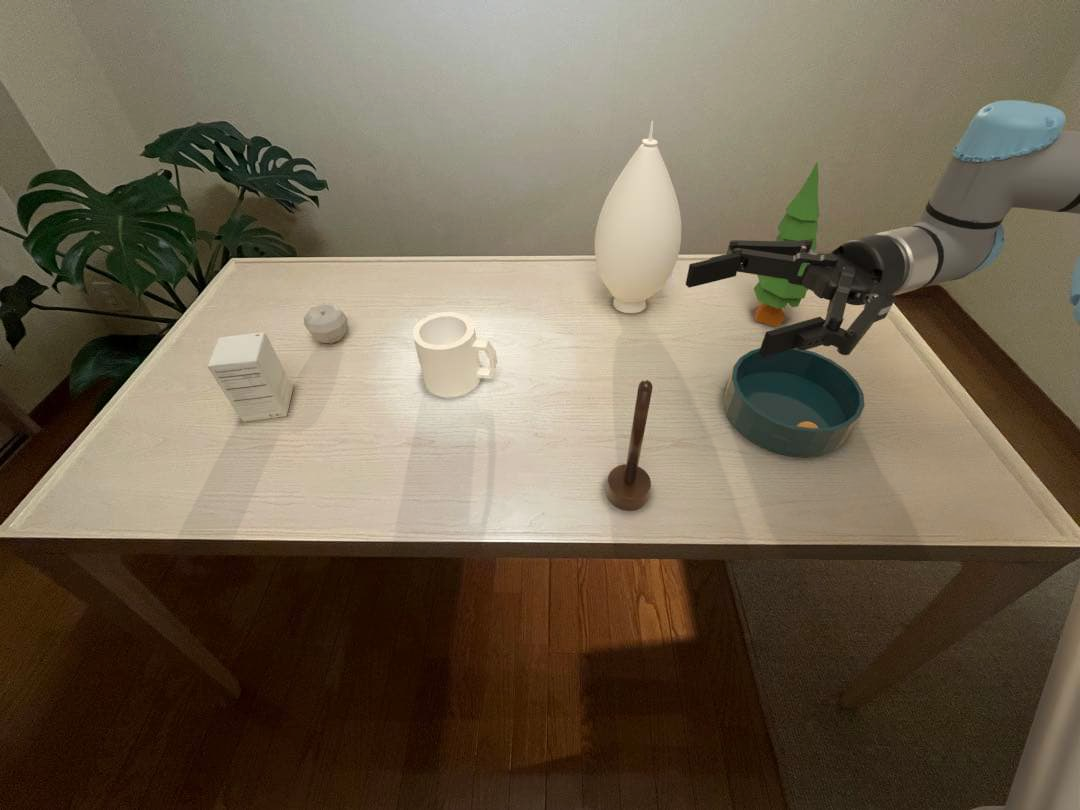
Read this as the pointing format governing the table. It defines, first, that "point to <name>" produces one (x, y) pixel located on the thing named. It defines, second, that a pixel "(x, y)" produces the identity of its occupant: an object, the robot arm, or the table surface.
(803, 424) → the dough ball
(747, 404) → the bowl
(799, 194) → the decorative tree
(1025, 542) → the table surface
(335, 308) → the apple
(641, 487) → the wooden peg stand
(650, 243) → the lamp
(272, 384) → the white packaging box
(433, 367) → the mug
